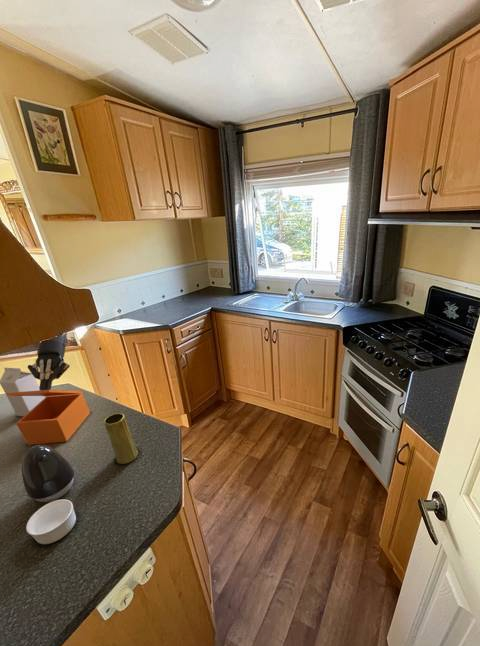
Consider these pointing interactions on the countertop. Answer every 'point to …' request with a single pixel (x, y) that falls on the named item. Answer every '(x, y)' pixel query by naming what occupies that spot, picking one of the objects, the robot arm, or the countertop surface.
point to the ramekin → (52, 521)
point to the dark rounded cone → (46, 473)
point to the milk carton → (20, 389)
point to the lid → (44, 393)
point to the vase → (120, 438)
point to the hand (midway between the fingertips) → (44, 391)
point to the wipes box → (54, 419)
